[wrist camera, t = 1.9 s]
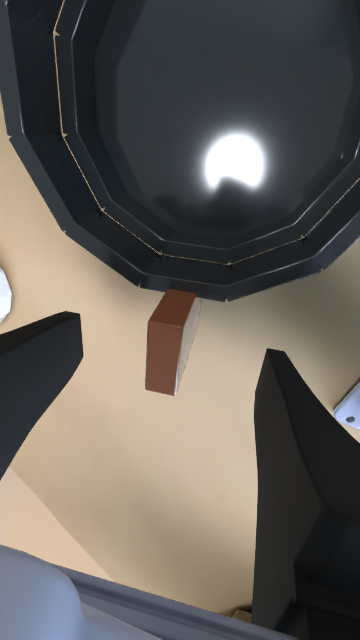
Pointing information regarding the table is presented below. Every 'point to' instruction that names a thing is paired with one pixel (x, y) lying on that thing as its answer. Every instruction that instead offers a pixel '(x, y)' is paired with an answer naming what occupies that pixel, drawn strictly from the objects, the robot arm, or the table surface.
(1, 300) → the white cup
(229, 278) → the black cooking pot
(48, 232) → the table surface
